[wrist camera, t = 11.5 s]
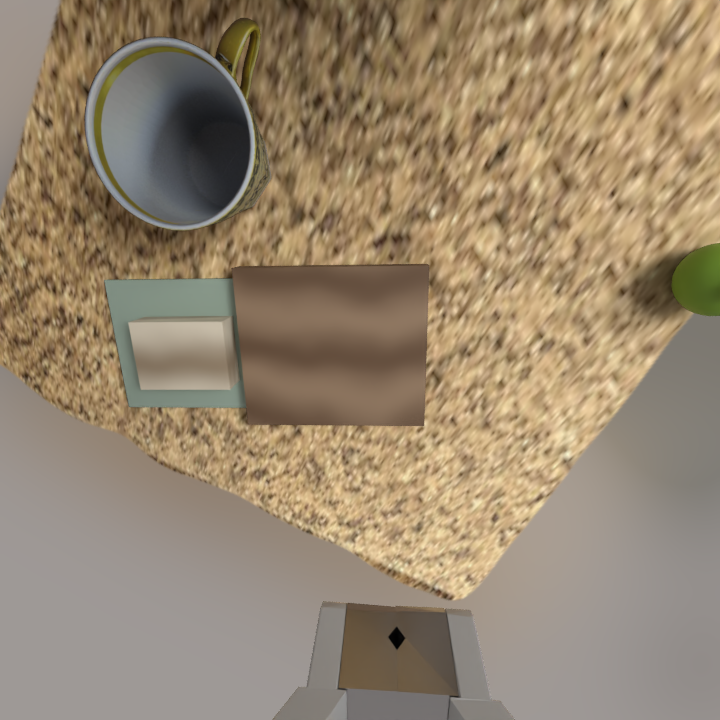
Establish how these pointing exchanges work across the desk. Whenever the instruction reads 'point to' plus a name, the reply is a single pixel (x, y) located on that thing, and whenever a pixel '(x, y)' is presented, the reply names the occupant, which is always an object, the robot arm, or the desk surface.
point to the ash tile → (185, 352)
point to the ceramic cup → (178, 130)
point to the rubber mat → (169, 301)
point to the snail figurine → (699, 281)
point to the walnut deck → (333, 343)
